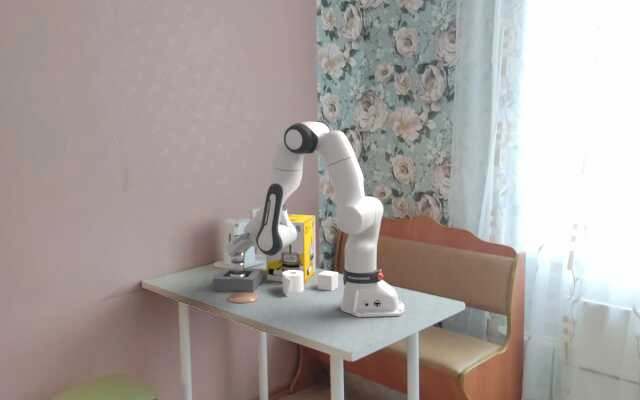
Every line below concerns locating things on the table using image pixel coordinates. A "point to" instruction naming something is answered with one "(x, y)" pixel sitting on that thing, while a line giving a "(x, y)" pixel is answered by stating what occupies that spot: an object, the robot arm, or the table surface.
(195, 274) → the table surface
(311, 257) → the packaging box
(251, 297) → the terracotta coaster
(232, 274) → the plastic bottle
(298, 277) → the toilet paper
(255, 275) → the charcoal collar
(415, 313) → the table surface
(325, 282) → the white cube
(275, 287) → the table surface
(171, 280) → the table surface
